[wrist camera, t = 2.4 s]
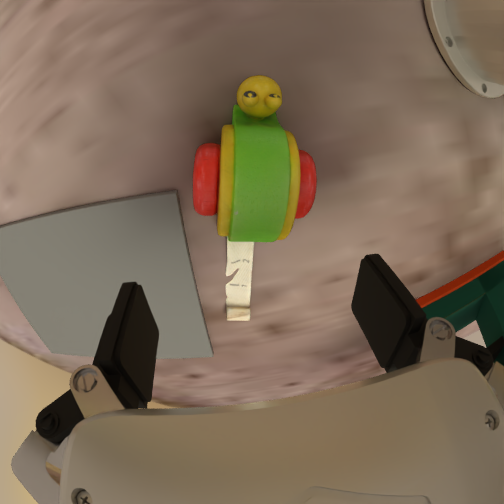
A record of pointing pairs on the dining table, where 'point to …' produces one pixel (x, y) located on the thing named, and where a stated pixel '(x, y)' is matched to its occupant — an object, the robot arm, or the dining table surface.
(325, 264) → the dining table surface
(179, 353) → the mat
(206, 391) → the dining table surface
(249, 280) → the toy measuring tape
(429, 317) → the power tool
